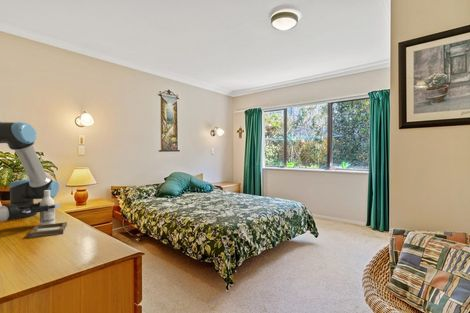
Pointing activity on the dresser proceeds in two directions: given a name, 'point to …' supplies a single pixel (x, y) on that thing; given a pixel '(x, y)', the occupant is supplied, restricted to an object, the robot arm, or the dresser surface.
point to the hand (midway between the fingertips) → (57, 204)
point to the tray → (48, 230)
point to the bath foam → (50, 215)
